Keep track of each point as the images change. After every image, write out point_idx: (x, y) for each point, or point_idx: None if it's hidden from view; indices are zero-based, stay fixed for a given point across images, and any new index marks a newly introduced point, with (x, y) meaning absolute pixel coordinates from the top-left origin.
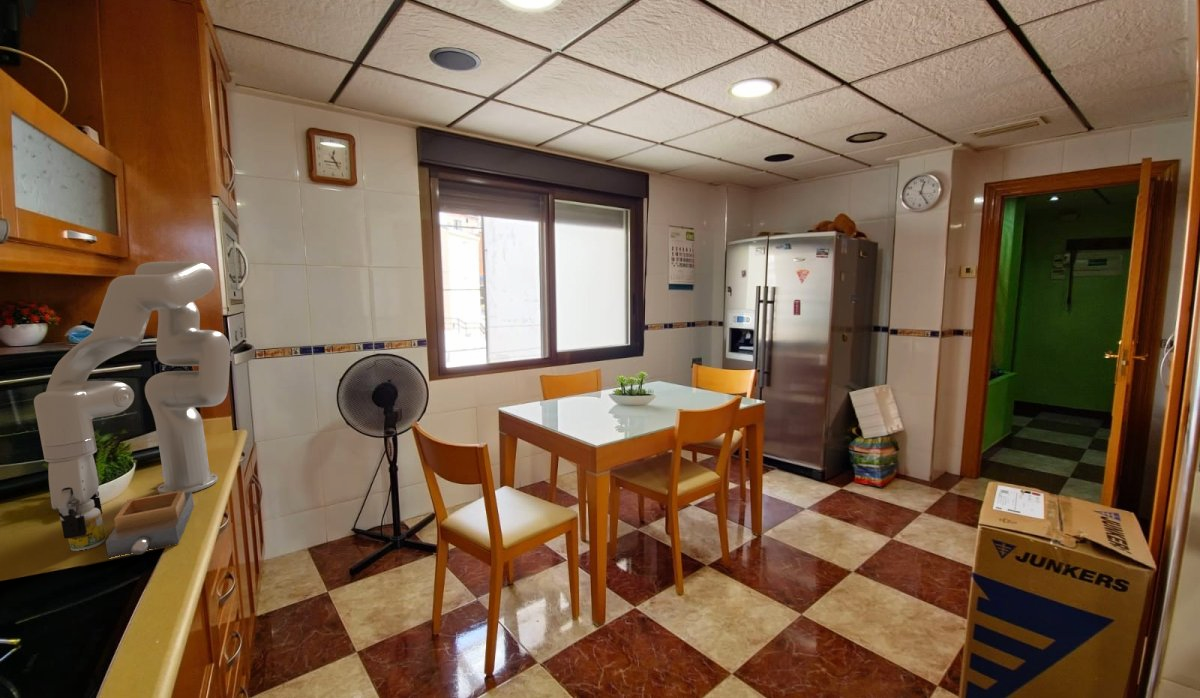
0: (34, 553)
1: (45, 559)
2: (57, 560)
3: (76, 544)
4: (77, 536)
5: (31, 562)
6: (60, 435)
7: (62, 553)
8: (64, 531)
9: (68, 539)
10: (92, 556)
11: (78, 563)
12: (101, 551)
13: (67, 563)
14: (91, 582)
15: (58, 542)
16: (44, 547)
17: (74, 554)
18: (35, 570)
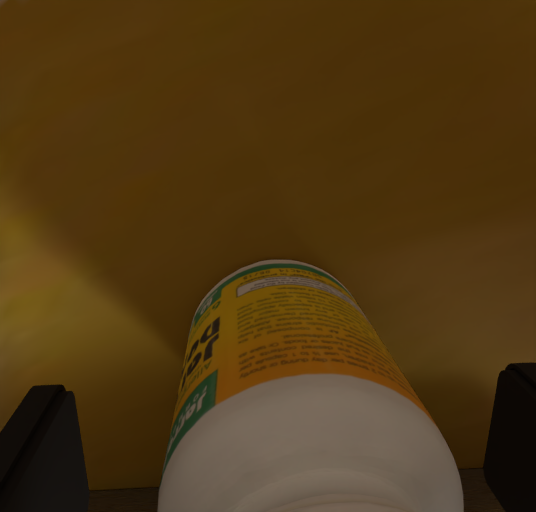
0: (336, 33)
1: (173, 150)
2: (114, 232)
3: (190, 336)
4: (179, 387)
5: (168, 71)
6: None
7: (222, 226)
8: (4, 439)
9: (243, 296)
10: None
11: (3, 365)
12: (128, 430)
13: (33, 306)
14: None
15: (451, 137)
16: (415, 68)
17: (163, 302)
18: (6, 148)
